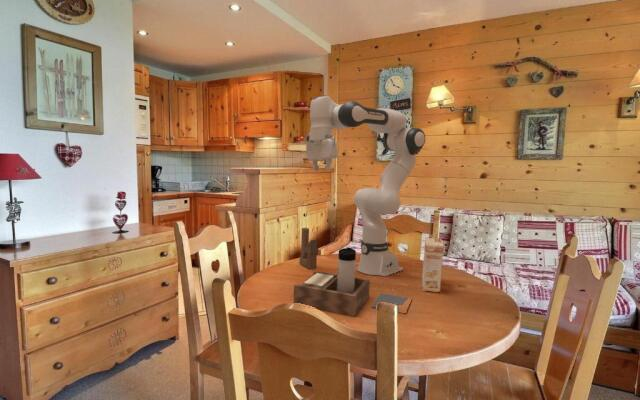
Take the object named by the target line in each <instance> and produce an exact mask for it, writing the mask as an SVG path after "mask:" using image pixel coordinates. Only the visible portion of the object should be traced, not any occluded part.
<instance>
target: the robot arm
mask: <svg viewBox="0 0 640 400" xmlns="http://www.w3.org/2000/svg"><path fill="white" fill-rule="evenodd" d="M309 118H310V119H309V120H310V128H309V129H310V130H309V133H308V134H307V135H306V136H305V138H304V139H305V143H306V146H305V150H306V151H305V152H306V158H307V160H308V161H311V162H312V166H313V171H319V170H320V166H319V165H318V164H319V160H325V162H326V164H325V165H324V170H325V171H331V165H332V163H333V159H337V158H338V156H339V153H338V151H339V150H338V142H337V140H336V137H335V136H334V135H333V130H337V131H338V130H343V129H349V128H358V127H360V126H361V125H363V124H364V125H365V124H366V125H368V128H369V129H370V131H371V132H374V133H378V134H383V136H382V143H383V146H384V148H385V149H386V150H388V151H391V152H395V154H394V156H393V158H392V159H391V160H390V162H389V163H388V164H387V165H386V167H385V168H384V170H383V171H382V172H381V174H380V175H379V177H380V178H379V179H380V182H381V184H380V186H379V187H378V188H373V187H372V188H371V187H364V188H360V189H358V190H357V191H356V192H355V194H354V196H353V201H354V205H355V206H356V207H357V209H358V211H359V214H360V217H361V222H362V237H361V238H362V240H361V243H360V249H361V250H360V251H361V253H360V257H359V258H360V259H359V262H358V265H357V271H358V272H359V273H361V274H365V275H372V276H381V277H388V276H391V275H393V273H394V274H396V272H397V273H399V272H398V271H400V272H402V271H401V270H403V271H404V267H402V266H401V265H399V259H398V256H397V255H396V254H394V253H393V252H392V251H391V250H390V249H389V248H392V247H393V243H392V242H390V241H389V242H387V229H388V228H387V224H386V222H385V221H384V220H383V218H382V215H393V214H396V213H397V212H398V211H399V209H400V207H401V198H400V196H399V193H400V190H401V188H402V186H403V184H404V183H405V182H406V181H407V179H408V178H409V176H410V175H411V172H412V171H413V170H414V168H415V165H416V162H417V158H416V155H418V154H419V153H420V152H421V150H422V149H423V147H424V145H425V143H426V135H425V132H424V130H423V129H421V128H419V127H406V123H407V119H406V116H405V114H404V113H403V112H402V111H399V110H396V109H393V108H392V109H391V108H384V107H383V108H381V107H380V108H371V107H367V106H364V105H362V104H361V103H359V102H358V101H356V100H355V101H354V100H350V101H347V102H345V103H342V104H338V103H336V102H335V101H334V100H332V98H331V96H330V95H319V96H315V97H314V98H312V99H311V102H310V108H309ZM390 274H391V275H390Z"/></svg>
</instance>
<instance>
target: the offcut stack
mask: <svg viewBox="0 0 640 400" xmlns="http://www.w3.org/2000/svg"><path fill="white" fill-rule="evenodd" d="M333 279H334V276H333V275H327V274H321V273H316V274H315V275H314V276H313V275H312V276H311V277H310V278H309V279H307V280H305V281H304V282H303V284H304V285H305V286H310V287H316V288H321V289H323V288H324V287H325V286H326V285H327V284H328V283H330V282H331V281H332V280H333Z"/></svg>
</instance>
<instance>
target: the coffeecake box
mask: <svg viewBox="0 0 640 400" xmlns="http://www.w3.org/2000/svg"><path fill="white" fill-rule="evenodd" d="M424 241H425V242H424V250H423V251H424V253H423V264H422V265H423V266H422V278H421V279H422V282H421V283H422V286H423V289H424V290H434V291H440V292H441V283H442V282H441V281H442V271H443V259H444V258H443V257H444V248H445V247H444V243H443V240H442V238H436V237H425V239H424ZM423 289H422V290H423Z"/></svg>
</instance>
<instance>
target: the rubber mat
mask: <svg viewBox="0 0 640 400" xmlns="http://www.w3.org/2000/svg"><path fill="white" fill-rule="evenodd" d="M408 298H409V297H405V296H397V295H392V294H387V293H382V292H380V293H379V295H378V297H377V298H376V299H375V300H374V303H373V304H372V306H371V308H372V309H376V305H377V303H378V302H387V303H392V304H395V303H396V305H397V306H399V305H403V304H404V302H405V301H406V300H407V299H408ZM376 310H377V309H376ZM398 312H399V307H398Z"/></svg>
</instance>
